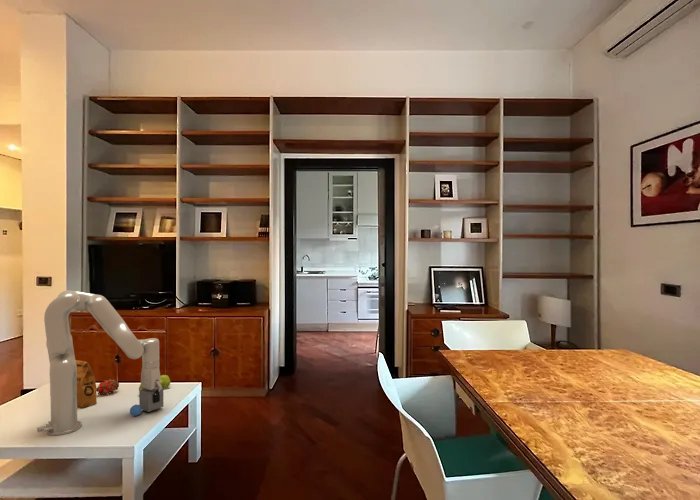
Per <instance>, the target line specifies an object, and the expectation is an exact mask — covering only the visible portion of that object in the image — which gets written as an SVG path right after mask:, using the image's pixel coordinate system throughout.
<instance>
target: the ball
mask: <svg viewBox="0 0 700 500" xmlns="http://www.w3.org/2000/svg"><path fill="white" fill-rule="evenodd" d="M142 411H143V410H142V407H141V406H140V405H139V404H134V405H132V406H131V407H130V409H129V413H130V415H131V416H133V417H137V416H139V415H140V414H141V413H142Z"/></svg>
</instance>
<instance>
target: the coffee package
mask: <svg viewBox="0 0 700 500" xmlns="http://www.w3.org/2000/svg"><path fill="white" fill-rule="evenodd" d="M75 361H76V365H77V408H81V409H85V408H87V407H91V406H93V405H96V404H97V383H96V382H97V381H96V378H95V374H94V371H93V369H92V367H91V366H90V363H89V362H87V361H84V360H77V359H75Z"/></svg>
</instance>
